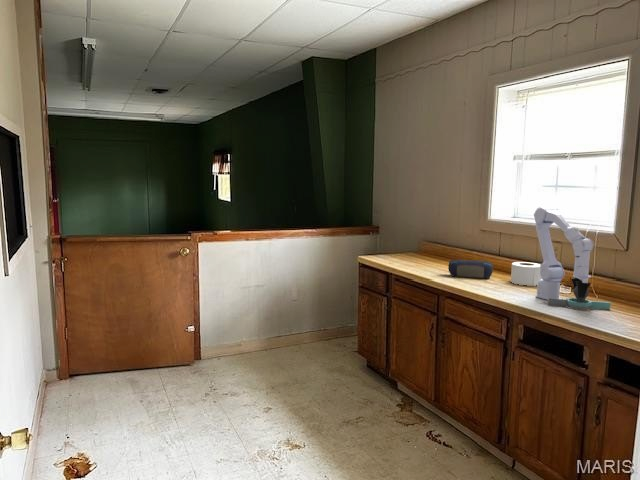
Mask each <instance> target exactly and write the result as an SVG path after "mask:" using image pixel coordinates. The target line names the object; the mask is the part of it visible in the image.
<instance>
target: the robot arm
mask: <svg viewBox="0 0 640 480" xmlns="http://www.w3.org/2000/svg"><path fill="white" fill-rule="evenodd" d="M533 218H534V223H535V231H536V234H537V238H538V244H539V247H540V252H541V256H542V260H543V261H542V263H540V276H541V279H540V280H539V281H538V285H537V286H536V287H537V288H536V295H535V297H536V298H539V299H543V300H547V301H548V298H552V299H564V298H562V297H560V288H561V281H562V280H563V279H564V277H565V269H564V267H563V266H562V263H561V262H560V261H559V260H557V258H556V253H555V250H554V245H553V241H552V237H551V232H550V228H551V226H552V225H553V224H555V225H556V226H557V227H559V228H560V229H561V230H562V231H563V232H564V233H563V235H564V237H565V238H566V239H567V240H568V241H569V243H571V245H572V249H573V255H574V266H573V276H572V277H571V278H570V281H571V282H572V287H573V289H574V288H575V287H576V286H577V288H578V296H579V297H580V298H584V297H585V294H586V291H587V289H588V290H589V288H590V286H591V282H589V279H591V278H592V275H589V272H590V271H589V269H590V257H591V252H592V251H593V249H594V247H595V245H594V244H595V243H594V241H593V240H592V238H587V237H585V235H583V233H581V232H580V230H579V228H577V227H576V226H571V225H570V224H569V223H568V221H566V219H565V218H564V216H562V212H561V211H560V210H559V209H558V208H557V207H553V206H552V207H538V208H536V210H535V211H534V213H533Z"/></svg>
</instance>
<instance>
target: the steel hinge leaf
mask: <svg viewBox="0 0 640 480" xmlns="http://www.w3.org/2000/svg"><path fill="white" fill-rule="evenodd" d="M567 300H568V299H567V298H563V299H552V298H548V300H547V305H548V306H552V307H566V306H567V308H568V307H569V308H570V309H572V310H579V311H580V310H581V311H588V310H592V309H593V308H592V306H588V307H583V306H574V305H570V304H567ZM573 302H574V301H573ZM569 308H568V309H569Z"/></svg>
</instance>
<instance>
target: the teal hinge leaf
mask: <svg viewBox="0 0 640 480" xmlns="http://www.w3.org/2000/svg"><path fill="white" fill-rule="evenodd" d="M566 299H568V300H567V304H570V305H574V306H583V307H588V306H592V309H599V310H611V302H609V301H597V300H590V299H587V298H586V299H585V302H584V303H579V302H577V299H576V297H569V298H566ZM573 301H574V302H573Z"/></svg>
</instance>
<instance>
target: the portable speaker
mask: <svg viewBox="0 0 640 480" xmlns="http://www.w3.org/2000/svg"><path fill="white" fill-rule="evenodd" d="M447 265H448V267H447V269H448V272H449V274H450V276H452V277H458V278H473V279H489V278H491V276H492V274H493V271H494V266H493V263H492V262H489V261H485V260H470V259H469V260H468V259H452V260H450V261H449V262H448V264H447Z"/></svg>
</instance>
